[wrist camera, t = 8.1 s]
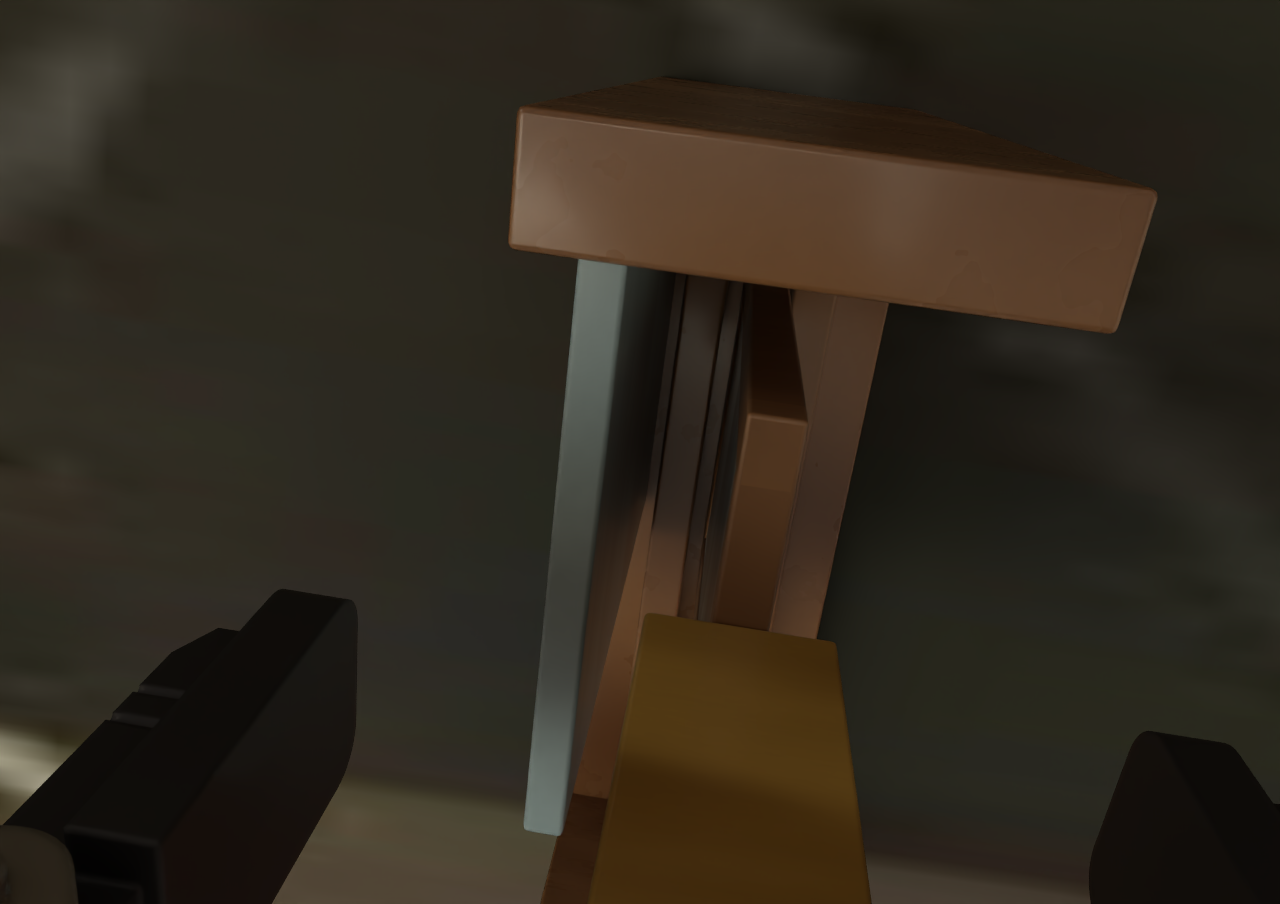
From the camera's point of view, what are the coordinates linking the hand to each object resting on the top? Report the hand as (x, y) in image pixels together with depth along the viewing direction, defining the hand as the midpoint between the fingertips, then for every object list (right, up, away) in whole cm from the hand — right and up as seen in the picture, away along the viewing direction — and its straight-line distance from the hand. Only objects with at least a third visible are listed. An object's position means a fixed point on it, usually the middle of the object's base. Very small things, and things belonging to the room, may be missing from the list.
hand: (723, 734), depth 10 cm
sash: (+1, +4, +11) cm, 11 cm away
